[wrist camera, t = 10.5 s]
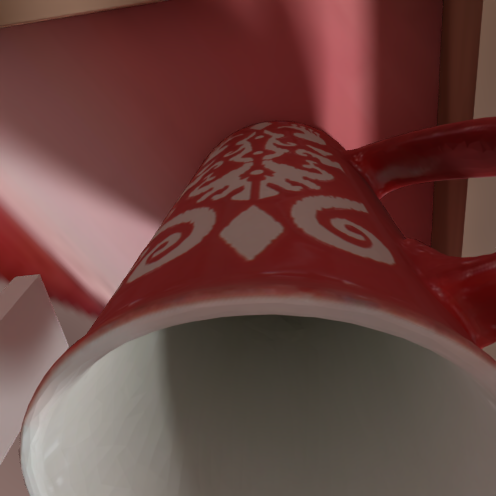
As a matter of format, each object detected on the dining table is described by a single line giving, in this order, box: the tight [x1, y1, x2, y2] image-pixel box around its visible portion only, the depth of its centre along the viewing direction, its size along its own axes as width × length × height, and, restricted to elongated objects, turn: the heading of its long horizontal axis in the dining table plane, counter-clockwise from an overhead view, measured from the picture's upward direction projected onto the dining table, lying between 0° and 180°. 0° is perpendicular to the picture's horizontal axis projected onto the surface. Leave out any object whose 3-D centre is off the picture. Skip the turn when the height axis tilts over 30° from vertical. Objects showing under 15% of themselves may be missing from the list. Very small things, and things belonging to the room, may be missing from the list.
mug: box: [19, 116, 496, 496], centre depth 13 cm, size 13×9×14 cm
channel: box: [0, 0, 496, 361], centre depth 18 cm, size 21×17×4 cm
